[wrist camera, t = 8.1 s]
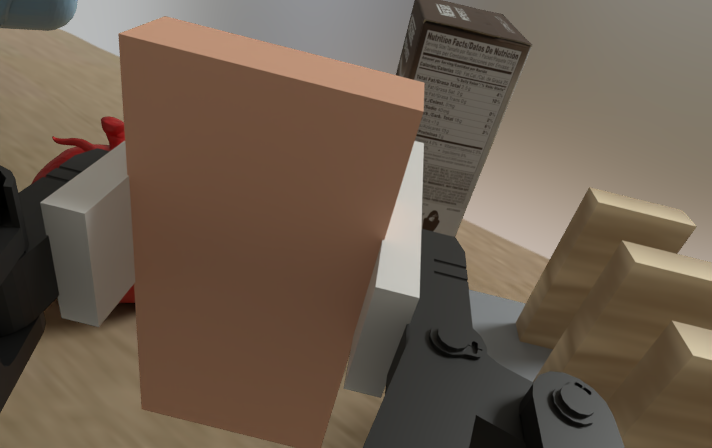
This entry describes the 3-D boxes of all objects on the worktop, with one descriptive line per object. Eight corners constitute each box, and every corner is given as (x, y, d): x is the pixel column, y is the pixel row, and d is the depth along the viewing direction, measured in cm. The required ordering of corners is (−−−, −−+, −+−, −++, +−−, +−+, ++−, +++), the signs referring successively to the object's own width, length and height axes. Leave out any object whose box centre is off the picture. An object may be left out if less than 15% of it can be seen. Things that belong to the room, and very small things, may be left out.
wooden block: (599, 360, 29) (696, 226, 24) (519, 341, 29) (598, 202, 24) (591, 341, 30) (682, 210, 25) (515, 322, 30) (589, 187, 25)
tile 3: (669, 538, 21) (845, 393, 15) (557, 511, 21) (693, 355, 15) (654, 501, 22) (811, 355, 17) (549, 475, 22) (671, 320, 17)
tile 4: (628, 435, 25) (755, 291, 19) (535, 411, 25) (635, 262, 19) (618, 408, 26) (733, 267, 21) (529, 386, 26) (621, 240, 21)
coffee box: (363, 192, 41) (413, -9, 33) (435, 207, 42) (503, 13, 33) (359, 255, 34) (422, 15, 25) (446, 272, 34) (539, 42, 25)
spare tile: (319, 453, 13) (423, 111, 8) (141, 409, 13) (118, 33, 8) (329, 404, 14) (424, 82, 9) (168, 363, 14) (165, 16, 9)
